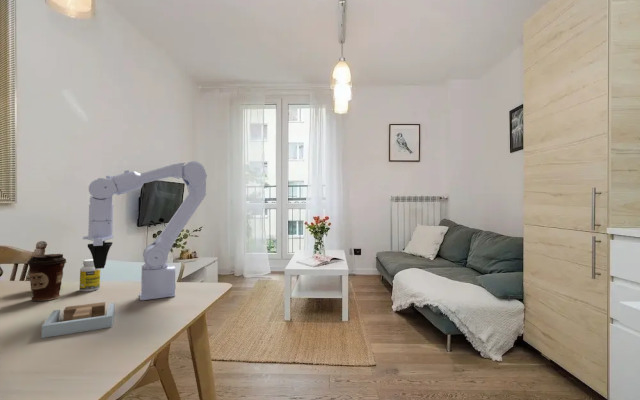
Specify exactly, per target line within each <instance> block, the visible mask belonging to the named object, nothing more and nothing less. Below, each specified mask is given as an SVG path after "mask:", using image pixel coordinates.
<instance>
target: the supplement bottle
mask: <svg viewBox="0 0 640 400" xmlns="http://www.w3.org/2000/svg"><path fill="white" fill-rule="evenodd" d="M82 265H83V266H82V267H81V268H80V269H79V270H80V271H79V291H80V292H93V291H97V290H99V289H100V286H101V269H95V267H94V262H93V258H89V259H83V260H82Z"/></svg>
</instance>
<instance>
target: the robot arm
mask: <svg viewBox="0 0 640 400" xmlns="http://www.w3.org/2000/svg"><path fill="white" fill-rule="evenodd" d="M207 176H208V175H207V173H206V169H205V167H204V166H203V164H202V163H200V162H198V161H197V160H196V161H195V160H191V161H189V162H179V163H173V164H170V165H165V166H162V167H160V168H156V169H151V170H148V171H145V172H141V173H139V172H137V171H134V170H131V171H130V170H129V169H128V170H124V171H123V173H120V174H115V175H112V176H111V175H106V176H105V177H106V178H103V177H98V178H97V179H95V180H92V181H91V182H90V184H89V185H88V192H89V194H90V197H89V205H88V234H87V236H85V235H84V236H83V237H82V240H87V241H88V240H89V241H91V242H92V243H88V244H87V248H88V249H89V252H90V254H91V257H92V259H93V262H94V267H95V269H100V270H101V269H104V268H105V266H106V262H107V259H108V253H109V251H110V249H111V247H112V246H113V241H108V240H112V239H114V235H113V231H114V230H113V229H114V205H113V196H114V195H116V196H120V195H124V194H127V193H130V192H131V193H132V192H134V191H138V190H141V189H142V188H143V186H144V184H146V183H151V182H155V181H159V180H163V179H167V178H174V179H177V180H179V179H182V180H183V182H184V183H185V185H186V188H187V191H188V194H187V195H186V197H185V199H184V200H183V201H182V202H181V204H180V205H179V207H178V208H177V210H176V211H175V212H174V214H173V216H172V217H171V218H170V220H169V221H168V222H167V224H166V226H165V227H164V228H163V230H162V231H161V233H160V234H159V235H158V236H157V237H156V238H155V240H154V241H153V242H152V243H151V244H150V245H147V246H146V247H145V248H144V250H143V254H142V255H143V261H144V264H143V265H141V279H140V280H141V282H140V283H141V288H140V292H139V301H147V300H155V299H164V298H171V297H172V298H173V297H175V296H176V288H177V287H176V266H175V265H169V263H167V262H168V258H169V253H170V251H171V250H172V248H173V245H174V244H175V243H174V242H175V241H177V239H178V237H179V236H180V234H181V232H182V231H183V229H185V227H186V225H187V224H188V222H190V219H191V218H192V217H193V215H194V214H195V212H196V211H197V209H198V208H199V206H200V204H201V203H202V202H203V200H204V199H205V197H206V195H207V193H206V192H207Z"/></svg>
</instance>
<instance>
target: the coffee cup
mask: <svg viewBox="0 0 640 400" xmlns="http://www.w3.org/2000/svg"><path fill="white" fill-rule="evenodd" d="M30 256H31V257H30V259H29V260H28V261H27V262H26V264H27V265H28V267H29V268H28V269H29V270H28V274H29V282H30V283H29V284H30V290H31V292H32V296H31V301H33V302H34V301H35V302H42V301H50V300H51V301H52V300H57V299H59V298H61V296H60V291H61V287H62V281H63V276H64V268H65V265H66V263H67V259H66V258H64V254H63V253H49V254H35V255H30ZM64 264H65V265H64Z"/></svg>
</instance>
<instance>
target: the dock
mask: <svg viewBox="0 0 640 400" xmlns="http://www.w3.org/2000/svg"><path fill="white" fill-rule="evenodd" d="M115 309H116V303H115V302H109V304H108V307H107V310H106V314H105V315H104V316H98V317H91V318H84V319H77V320H70V321H60V320H61V309H54V310H52V312H51V313H50V315H49V316H48V317H47V318H46V320H45V321H44V323H43V324H42V325H41V339H43V338H51V337H58V336H62V335H68V334H74V333H76V334H77V333H82V332H89V331H95V330H101V329H107V328H113V322H114V317H115V312H116V310H115Z"/></svg>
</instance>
